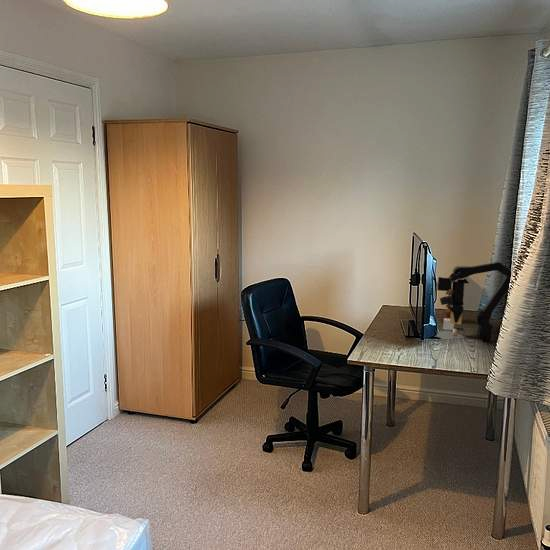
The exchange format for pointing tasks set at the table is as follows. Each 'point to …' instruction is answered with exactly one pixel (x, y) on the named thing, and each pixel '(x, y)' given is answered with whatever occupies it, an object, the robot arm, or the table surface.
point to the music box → (448, 311)
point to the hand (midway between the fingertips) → (455, 321)
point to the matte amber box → (453, 319)
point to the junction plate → (449, 334)
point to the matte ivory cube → (447, 324)
